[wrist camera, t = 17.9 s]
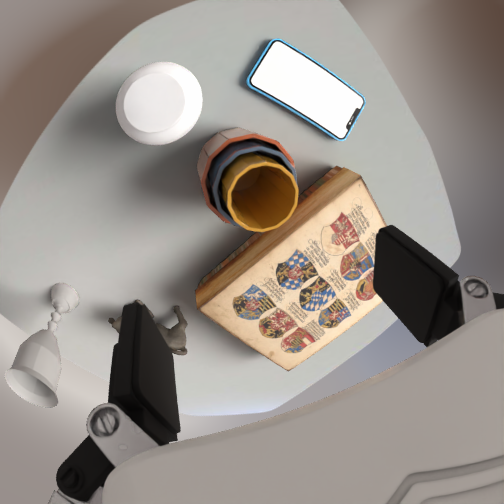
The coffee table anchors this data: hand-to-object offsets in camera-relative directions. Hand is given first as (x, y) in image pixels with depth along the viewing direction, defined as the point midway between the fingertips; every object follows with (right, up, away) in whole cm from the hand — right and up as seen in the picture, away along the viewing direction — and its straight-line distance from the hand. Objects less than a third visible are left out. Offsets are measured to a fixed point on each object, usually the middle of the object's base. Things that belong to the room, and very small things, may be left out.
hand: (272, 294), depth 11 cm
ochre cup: (-2, +12, +23) cm, 26 cm away
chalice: (-29, -5, +27) cm, 40 cm away
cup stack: (-3, +12, +24) cm, 27 cm away
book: (+8, -3, +35) cm, 36 cm away
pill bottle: (-11, +19, +18) cm, 28 cm away
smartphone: (+6, +22, +21) cm, 31 cm away
